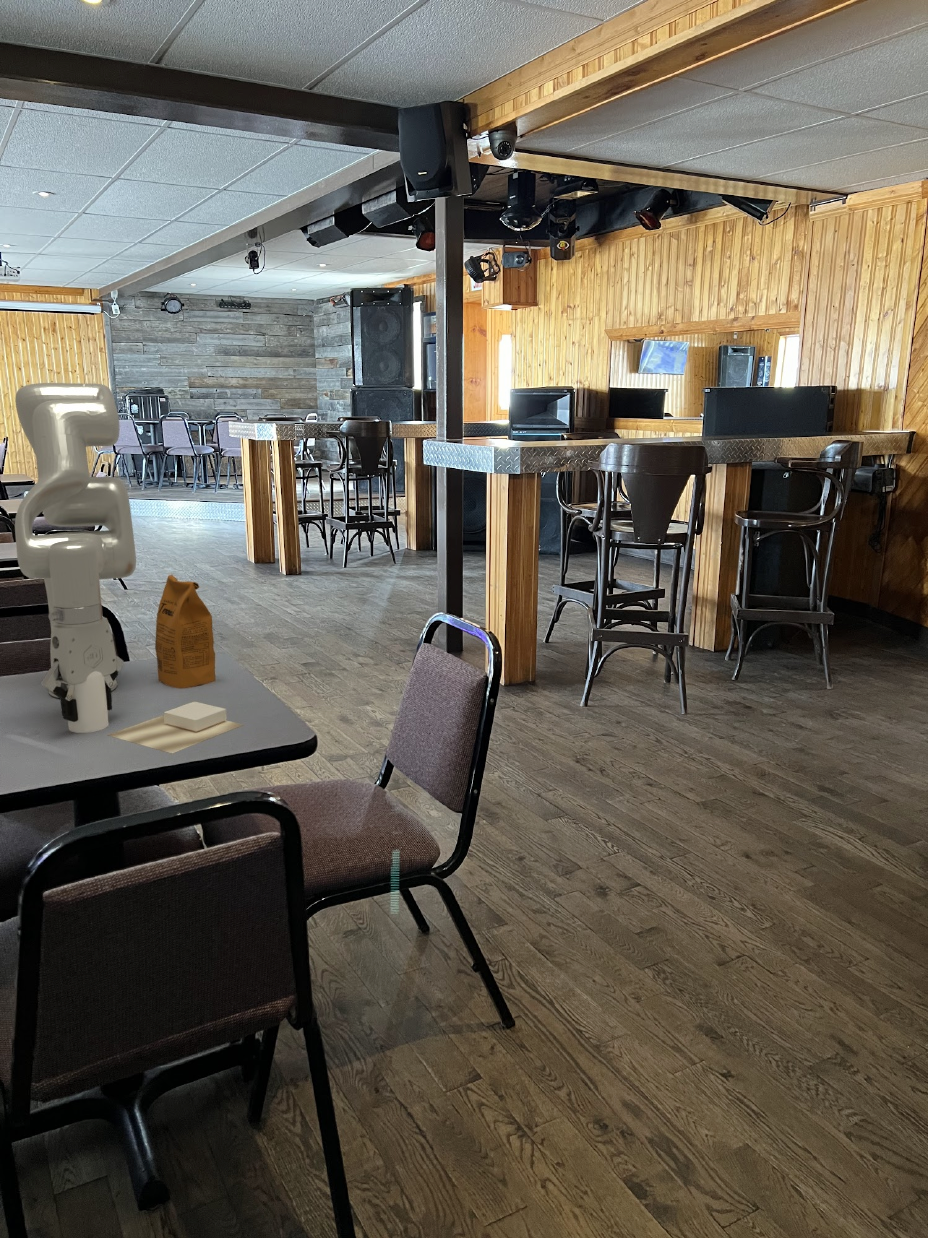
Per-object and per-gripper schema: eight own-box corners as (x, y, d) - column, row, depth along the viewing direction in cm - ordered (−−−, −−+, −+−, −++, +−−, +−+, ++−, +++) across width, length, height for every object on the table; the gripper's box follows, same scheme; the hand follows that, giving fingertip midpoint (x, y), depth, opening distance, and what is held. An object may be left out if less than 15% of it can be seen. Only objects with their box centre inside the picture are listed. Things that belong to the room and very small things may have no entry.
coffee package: (197, 672, 196) (190, 570, 191) (222, 686, 187) (215, 579, 182) (151, 681, 190) (142, 576, 185) (175, 695, 181) (166, 585, 176)
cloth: (107, 740, 157) (107, 735, 156) (180, 714, 170) (180, 709, 170) (172, 759, 148) (172, 753, 148) (244, 730, 162) (243, 724, 162)
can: (95, 738, 157) (88, 671, 154) (61, 735, 158) (54, 669, 156) (116, 725, 163) (110, 660, 160) (83, 722, 165) (77, 658, 162)
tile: (163, 712, 161) (195, 720, 157) (194, 701, 167) (226, 709, 163) (164, 724, 162) (196, 733, 157) (195, 713, 167) (226, 721, 163)
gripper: (46, 627, 147) (57, 733, 151) (135, 607, 161) (143, 704, 166) (17, 621, 151) (29, 725, 155) (107, 601, 165) (115, 697, 169)
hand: (88, 713), depth 160 cm, fingers closed on can, 6 cm apart
